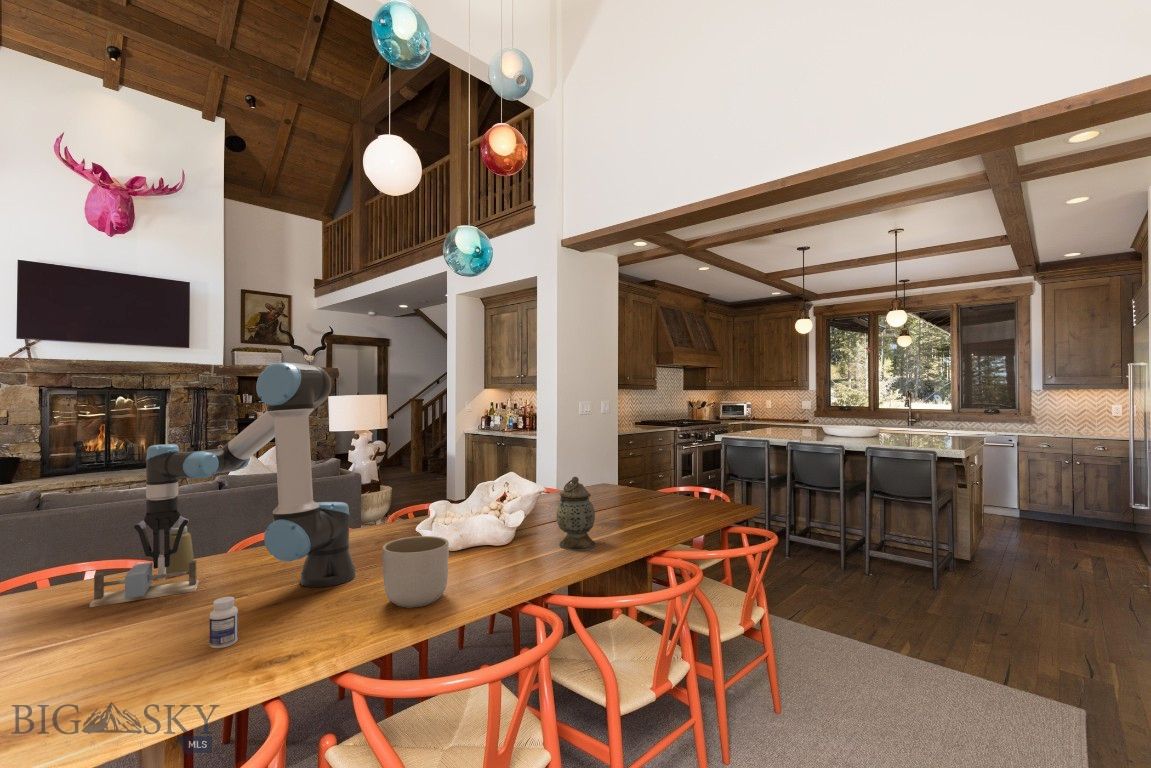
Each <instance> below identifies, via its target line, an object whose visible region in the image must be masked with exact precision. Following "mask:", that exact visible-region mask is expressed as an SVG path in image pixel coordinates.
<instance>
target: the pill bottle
mask: <svg viewBox="0 0 1151 768" xmlns="http://www.w3.org/2000/svg"><path fill="white" fill-rule="evenodd" d="M212 604H213V606H212V607H213V610H212V611H210V613H209V647H210V648H212V649H222V648H227V647H230V646H233V645H234V644H235V643H237V642H238V640H239V610H238V607H236V606H235V597H234V596H223V597H219V598H216V599H215V600H214V601H213V603H212Z"/></svg>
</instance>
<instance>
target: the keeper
mask: <svg viewBox="0 0 1151 768" xmlns="http://www.w3.org/2000/svg"><path fill="white" fill-rule="evenodd" d="M153 570H154V567H153V561H151V562H150V561H149V562H142V563H141V562H140V563H135V564H134V565H133V567H131V568H130V570H129V571H128V572H127V573H126V574H125V576H124V580H125V583H124V590H125V598H132V597H138V596H144V594H145V593H146V592H147V590H148V589H149V587H151V586H152V584H153V580H154V579H152V580H148V576H154V575H153V572H154V571H153Z"/></svg>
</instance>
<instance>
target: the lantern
mask: <svg viewBox="0 0 1151 768" xmlns="http://www.w3.org/2000/svg"><path fill="white" fill-rule="evenodd" d="M579 481H580V480H579V478H578V477H577V476H573V477H572V478H571V479H570V480H569V481H568V482H567V483H565V485H564V486H563V490H562V491H561V492H560V493H559V495H560V498H559V502H558V505H557V506H558V507H557V511H556V522H557V525H558V528H559V529H560V530H562V532H563V533H566V536H565V537H564V538H563V539H562V540H561V541H560V542H559V544H558V546H559V547H560V548H561V549H564V550H567V551H586V550H590V549H591V550H593V549H594V548H595V547H596V546H597V543H596V541H594V540H593V539H592V538H590V536H589V534H588V533H589V532H590V531H591V529H592V528H593V527H594V524H595V520H596V514H595V513H596V511H595V508H594V505H593V504H592V502H591V501H590V499H589V498H590V497H591V493H590V492H589V491H588V490H587V488H586V487H585V485H584V484H583V483H580V482H579Z"/></svg>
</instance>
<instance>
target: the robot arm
mask: <svg viewBox="0 0 1151 768" xmlns="http://www.w3.org/2000/svg"><path fill="white" fill-rule="evenodd" d="M255 388H256V389H255V390H256V394H257V396H258V398H259V399H261V402H263V403H264V404H266V409H267V410H266V411H265V412H264V413H262V414H261V415H260V416H259V417H258V418H256V419H255V420H254V421H253V422H252V423H250V424H249V425H248V426H246V428H244V429H243V430H242V431H240V433H238V434H237V435H236V436H234V438H232V439H230V441H228V442H227V443H226V444H225V445H224V446H222V447H220V448H213V449H205V450H197V451H180V450H179V449H180V448H179V445H178V444H175V443H172V444H171V443H167V444H154V445H150V446H149V447H147V449H146V458H145V463H146V464H145V465H146V467H145V469H146V478H145V479H146V485H145V498H146V501H145V516H144V517H143V520H141V521H140V522H138V523H136V524H134V525H133V528H134V529H135V531H136V532H137V533H138V535H139V536H138V537H139V539H140V542H141V545H142V549H143V552H144V554H145V557H150V558H151V557H152V558H153V559H152V560H153V561H152V562H153V570H154V569H157V575H162V574H166V567H169V566H170V556H171V554H173V553H176V552H177V551H178V548H179V545H180V542H181V538H182V535H183V531H184V528H185V526H187V524H188V523H189V521H190V519H189V518H188V517H186V518H185V517H183V516H181V513H180V512H179V497H178V495H179V478H183V479H195V480H196V479H207V478H210V477H212V476H213V475H216V474H221V473H222V474H223V473H229V472H236V471H239V470H242V469H245V468H246V467H247V466H248V465H249V462H250V460H251V457H252V456H253V455H254V454H256V453H257V452H258V451H260V449H263V447H264V446H265V445H267V444H268V443H269V442H270V441H272V440H273V439H274V441H275V444H274V445H275V446H274V447H275V460H276V461H275V462H276V463H275V464H276V479H277V498H278V500H277V501H278V502H277V503H278V504H277V506H276V507H275V508H274V510H272V522H271V523H270V524H269V525H268V526H267V528H266V529H265V531H264V535H263V538H264V539H263V540H264V541H263V542H264V545H265V546H264V547H265V548H266V550H267V552H268V553H269V554H270V555H272V556H273V557H274V558H275V559H276V560H279V561H281V562H282V561H283V562H293V561H296V560H300V559H302V558H305V557H306V558H305V560H304V563H303V566H302V567H303V568H302V571H301V572H300V576H299V577H300V584H301V586H304V587H309V588H324V587H331V586H337V585H340V584H344V583H346V582H349V581H351V580H353V579H354V578H355V577H356V566H355V565H354V563H353V558H352V556H351V552H350V514H351V513H350V511H349V510H350V508H349V505H348V504H347V503H346V502H343V501H321V502H320V501H319V502H316V501H314V493H313V492H314V490H313V475H312V474H313V473H312V458H311V456H312V455H311V440H310V439H311V438H310V437H311V436H310V422H309V421H310V420H309V417H310V414H311V413H313V411H314V410H316V409H317V408H318V407H320V406H321V404H323V403H324V402H325V401H326V400H327V399H328V397H329V395H330V393H331V391H332V379H331V377H330V375H329V374H328V372H327V371H326V370H324V369H323V368H322V367H320V366H317V365H315V364H307V363H306V364H304V363H294V362H286V361H285V362H275V363H271V364H270V365H267V366H266V367H265V368H264V370H262V372H260V374H259V375H258V377H257V381H256V386H255ZM177 520H178V521H179V523H178V524H179V525H180V527H179V529H178V532H177V536H176V539H175V542H174V546H173V549H171V528H172V527H173V526H174V524H175V523H176V522H177ZM146 525H147V526H148V527H149V528H150V529H151V530H152V535H153V536H152V542H153V543H152V545H151V544H150V541H149V540H150V539H149V537H148V534H147V531H146V527H147V526H146ZM161 530H162V531H163V533H164V534H163V537H164V540H163V542H164V547H163V553H164V555H163V554H161ZM152 547H153V548H152ZM164 580H166V578H160V579H157V581H164Z"/></svg>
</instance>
